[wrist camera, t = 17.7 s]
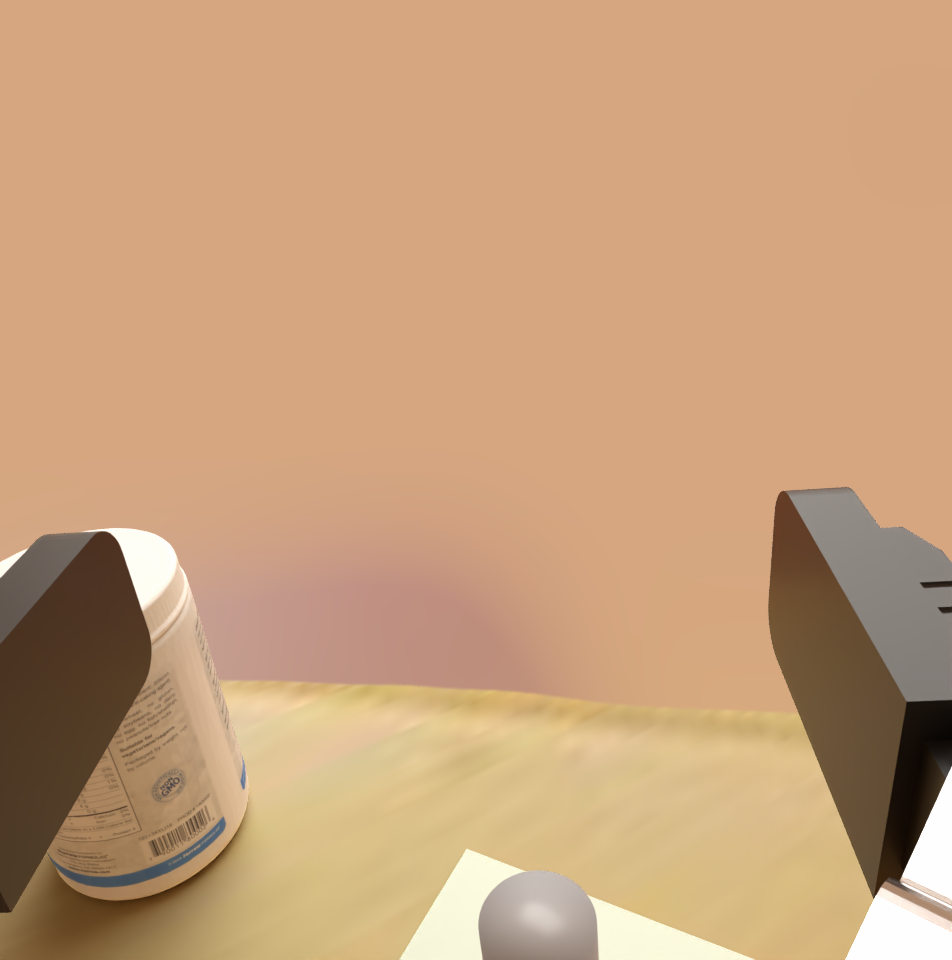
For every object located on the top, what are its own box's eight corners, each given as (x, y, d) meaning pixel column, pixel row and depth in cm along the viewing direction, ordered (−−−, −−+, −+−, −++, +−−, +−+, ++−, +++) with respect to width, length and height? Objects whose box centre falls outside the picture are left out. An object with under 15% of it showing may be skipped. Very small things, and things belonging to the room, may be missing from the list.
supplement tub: (113, 752, 48) (23, 525, 41) (277, 752, 47) (213, 518, 40) (15, 911, 39) (-119, 659, 33) (213, 916, 38) (118, 655, 31)
